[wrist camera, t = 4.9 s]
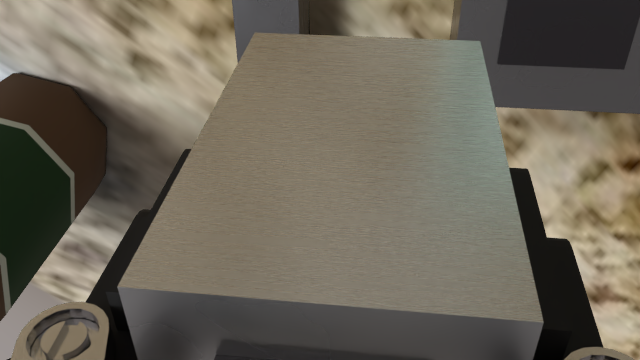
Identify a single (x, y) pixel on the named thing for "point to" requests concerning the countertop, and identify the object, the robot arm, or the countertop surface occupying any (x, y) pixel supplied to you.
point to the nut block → (340, 214)
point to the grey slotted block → (518, 47)
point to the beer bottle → (42, 173)
